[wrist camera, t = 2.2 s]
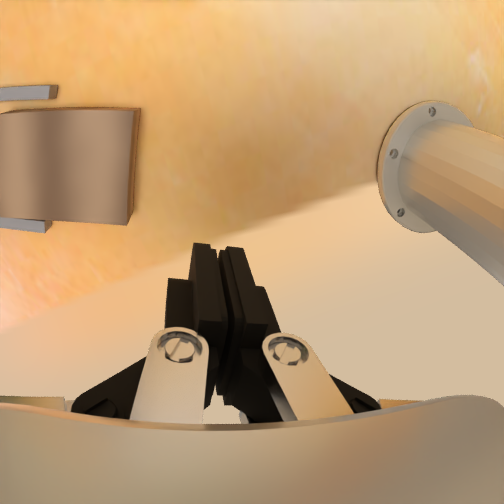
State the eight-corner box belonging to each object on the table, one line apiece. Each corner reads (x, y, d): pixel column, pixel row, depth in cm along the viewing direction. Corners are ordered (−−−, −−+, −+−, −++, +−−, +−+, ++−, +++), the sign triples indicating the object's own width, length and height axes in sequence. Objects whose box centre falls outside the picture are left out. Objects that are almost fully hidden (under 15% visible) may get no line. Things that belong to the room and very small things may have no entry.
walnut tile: (141, 108, 21) (133, 110, 18) (133, 209, 24) (126, 225, 22) (14, 109, 18) (-5, 114, 16) (16, 203, 22) (0, 217, 19)
